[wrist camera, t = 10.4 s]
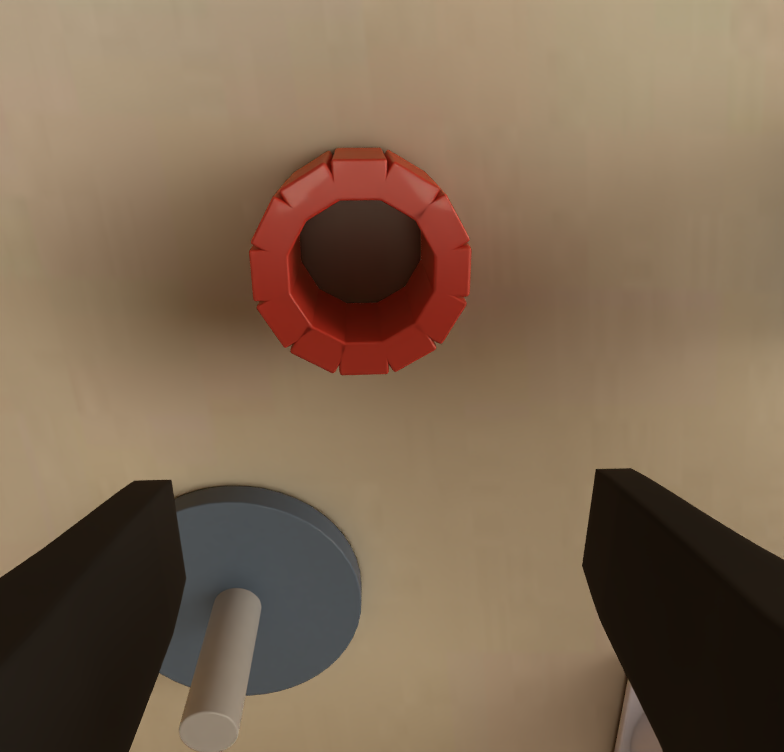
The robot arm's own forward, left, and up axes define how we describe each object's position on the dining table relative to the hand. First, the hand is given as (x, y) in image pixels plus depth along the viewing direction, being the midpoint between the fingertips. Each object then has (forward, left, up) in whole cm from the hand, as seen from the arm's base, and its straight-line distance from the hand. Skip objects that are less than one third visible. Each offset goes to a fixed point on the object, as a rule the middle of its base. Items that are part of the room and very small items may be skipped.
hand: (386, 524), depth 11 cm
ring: (0, -3, -9) cm, 10 cm away
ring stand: (+5, +9, -9) cm, 14 cm away
